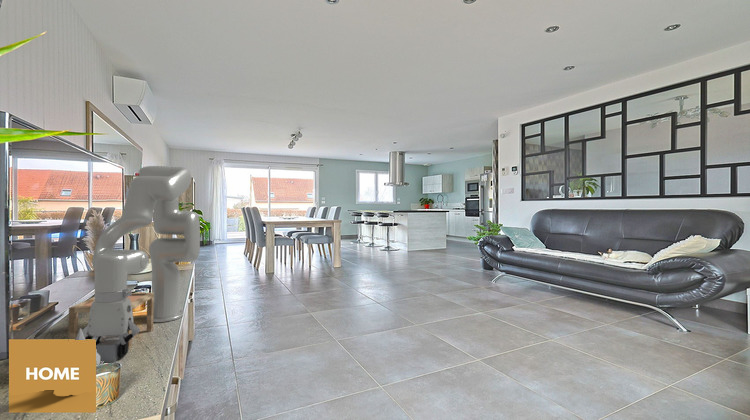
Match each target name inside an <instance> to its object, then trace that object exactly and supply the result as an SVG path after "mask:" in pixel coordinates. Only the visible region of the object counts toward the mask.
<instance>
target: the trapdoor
mask: <svg viewBox="0 0 750 420" xmlns="http://www.w3.org/2000/svg"><path fill="white" fill-rule="evenodd" d="M141 297H142V296H128V297H127V298H129V299H130V301H131V303H132V302H134V301H135V300H137V299H139V298H141ZM93 302H94V301H93ZM91 305H92V302H90V303H88V304H86V305H84V306H91Z"/></svg>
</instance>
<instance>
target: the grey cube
mask: <svg viewBox="0 0 750 420" xmlns="http://www.w3.org/2000/svg"><path fill="white" fill-rule="evenodd" d="M100 342H101V343H99V344H98V345H96V349H97V353H98V354H99V355H100V361H104V362H103V363H116V362H117V361H118V360H119V359H120V358H118V353H119V345H120V344H121V343H120V340H119V338H118V337H115V338H106V339H103V340H102V341H100Z"/></svg>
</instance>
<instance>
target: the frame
mask: <svg viewBox="0 0 750 420" xmlns="http://www.w3.org/2000/svg"><path fill="white" fill-rule="evenodd" d="M131 296H142V297H141V298H139V299H137V300H135V301H134V302H132V303H131V305H132V310H133V311H134V309H136V308H138V307H139V306H141V305H143V304H144V303H146V332H147V333H149V332H148V331H151V332H153V331H154V322H153V309H154V293H152V292H132V295H131ZM93 301H95V296H93V297H91V298H89V299H87V300H86V299H85V301H84V300H83V301H82V302H79V303H77V304H75V305H73V306H70V307H69V308H68V340H69V339H76V337H77V334H78V332H79V326H78V325H79V314H80V313H81V314H82V313H86V314H87V313H90V308H91V306H84V305H86V304H88V303H90V302H93ZM152 330H153V331H152ZM127 332H128V335H129V334H131V333H132V330H129V331H127ZM132 340H133V338H132V339H130V340H129V341H128V351H129V350H131V348H132V343H133V341H132Z"/></svg>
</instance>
